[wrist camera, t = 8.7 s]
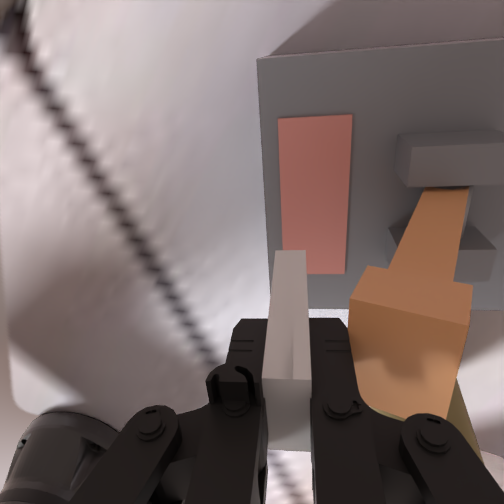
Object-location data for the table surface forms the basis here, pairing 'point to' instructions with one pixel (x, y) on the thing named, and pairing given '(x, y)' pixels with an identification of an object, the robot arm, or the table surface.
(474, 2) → the table surface
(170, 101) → the table surface
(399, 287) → the breaker lever
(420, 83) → the switch block
